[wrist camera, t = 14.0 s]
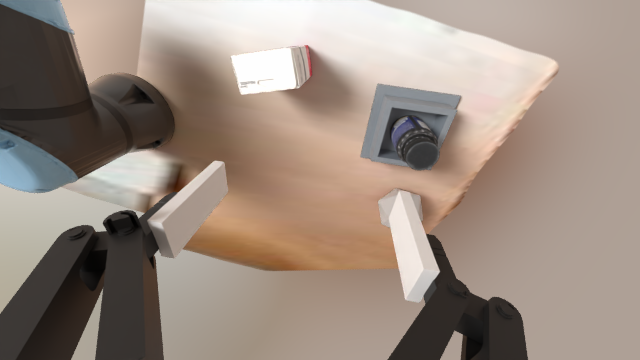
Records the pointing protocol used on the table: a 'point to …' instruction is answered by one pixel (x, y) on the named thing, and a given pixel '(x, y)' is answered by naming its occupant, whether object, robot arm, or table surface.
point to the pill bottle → (414, 142)
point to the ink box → (272, 69)
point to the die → (388, 203)
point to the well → (402, 102)
